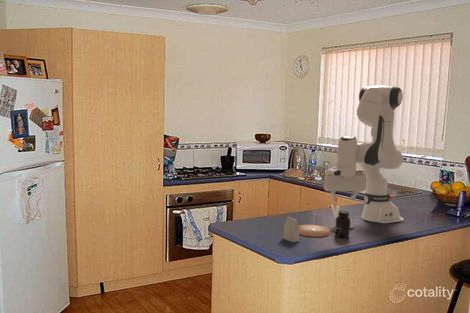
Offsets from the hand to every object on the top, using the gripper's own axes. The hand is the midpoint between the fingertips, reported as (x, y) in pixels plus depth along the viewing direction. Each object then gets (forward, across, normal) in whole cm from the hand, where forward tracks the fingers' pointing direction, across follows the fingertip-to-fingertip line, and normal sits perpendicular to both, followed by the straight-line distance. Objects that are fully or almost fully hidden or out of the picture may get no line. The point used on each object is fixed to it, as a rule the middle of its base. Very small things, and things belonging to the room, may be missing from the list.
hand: (343, 200), depth 232 cm
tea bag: (+18, +26, +1) cm, 31 cm away
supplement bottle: (+18, 0, 0) cm, 18 cm away
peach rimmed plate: (+18, +11, -9) cm, 22 cm away
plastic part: (+18, -8, -16) cm, 25 cm away
